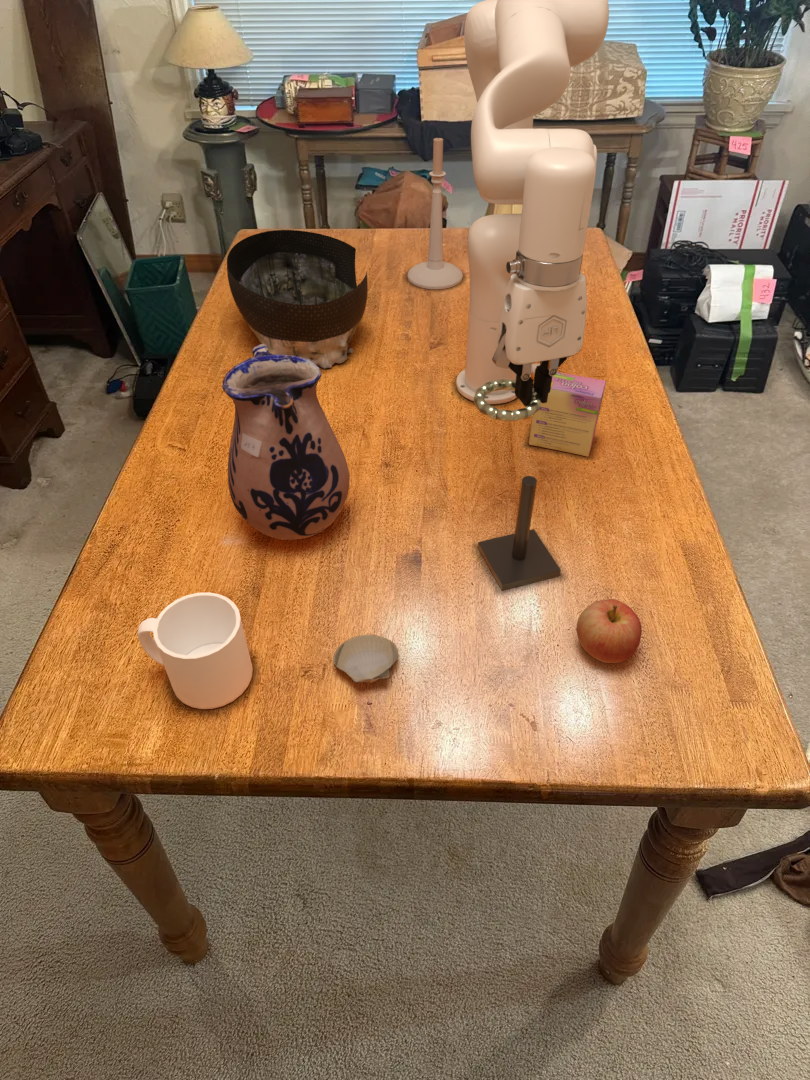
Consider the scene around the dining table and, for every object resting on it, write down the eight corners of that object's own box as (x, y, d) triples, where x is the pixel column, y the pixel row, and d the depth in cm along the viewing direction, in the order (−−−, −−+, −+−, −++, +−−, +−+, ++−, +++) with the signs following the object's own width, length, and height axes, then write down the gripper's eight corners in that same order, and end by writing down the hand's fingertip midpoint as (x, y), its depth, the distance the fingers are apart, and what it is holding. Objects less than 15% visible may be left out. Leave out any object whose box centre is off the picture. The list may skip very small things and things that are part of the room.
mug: (260, 647, 99) (249, 594, 92) (242, 713, 92) (228, 661, 85) (166, 641, 100) (147, 588, 93) (141, 706, 93) (118, 654, 85)
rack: (532, 534, 114) (545, 453, 104) (559, 575, 108) (576, 494, 97) (477, 547, 112) (484, 466, 102) (501, 590, 106) (511, 509, 95)
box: (594, 438, 131) (606, 379, 123) (589, 457, 127) (601, 397, 119) (535, 427, 134) (543, 368, 126) (528, 445, 130) (536, 386, 122)
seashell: (390, 649, 101) (330, 644, 99) (395, 631, 99) (334, 626, 97) (397, 694, 94) (333, 689, 92) (402, 676, 92) (338, 671, 91)
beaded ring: (523, 381, 105) (524, 372, 104) (551, 416, 99) (552, 406, 98) (464, 392, 103) (464, 383, 102) (489, 428, 97) (489, 419, 96)
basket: (377, 295, 170) (375, 222, 159) (363, 380, 145) (359, 300, 134) (252, 292, 171) (241, 220, 160) (217, 376, 146) (200, 297, 135)
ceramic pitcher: (260, 574, 108) (231, 430, 91) (215, 489, 122) (183, 350, 104) (371, 535, 114) (364, 393, 97) (316, 458, 128) (302, 321, 110)
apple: (580, 617, 102) (590, 577, 97) (639, 635, 100) (653, 594, 95) (565, 662, 97) (575, 621, 92) (628, 681, 95) (642, 641, 89)
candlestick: (463, 289, 172) (471, 146, 151) (407, 289, 172) (406, 146, 151) (461, 265, 181) (468, 127, 160) (407, 264, 181) (407, 127, 161)
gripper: (499, 288, 85) (487, 425, 98) (624, 269, 89) (597, 404, 101) (474, 262, 90) (466, 395, 103) (593, 245, 94) (571, 375, 106)
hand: (531, 398), depth 102 cm, fingers closed on beaded ring, 1 cm apart
